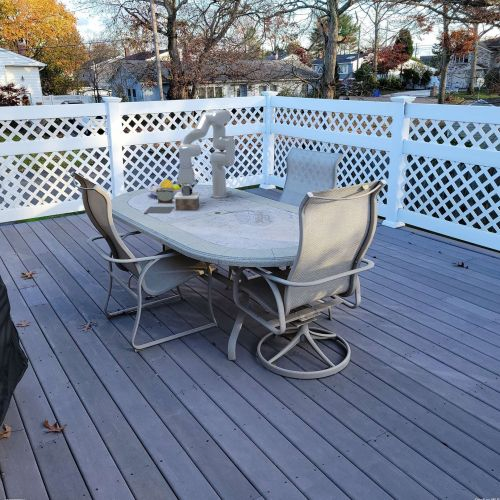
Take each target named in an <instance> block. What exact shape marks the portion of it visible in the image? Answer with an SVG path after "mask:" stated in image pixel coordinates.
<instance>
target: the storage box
mask: <svg viewBox="0 0 500 500" xmlns="http://www.w3.org/2000/svg"><path fill="white" fill-rule="evenodd" d="M174 200H175V211H197V209H198V208H199V206H200V196H199V197H198V198H197V199H174Z"/></svg>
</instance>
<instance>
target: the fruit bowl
mask: <svg viewBox="0 0 500 500" xmlns="http://www.w3.org/2000/svg"><path fill="white" fill-rule="evenodd" d="M184 186H187V184H184ZM184 186H183V187H184ZM159 188H172V189H173V191H174V193H173V197H174V196H175V195H176V193H177V192H182V189H181V188H180V187H179V186H178V185H177V184H176V183H173V182H172V181H171V180H170V179H168V178H167V179H163V180H162V181H161V183H160V184H156V185H152V186H149V187H148V188H147V189H148V191H149V193H150V194H151V195H152V196H156V197H157V192H156V189H159Z"/></svg>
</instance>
